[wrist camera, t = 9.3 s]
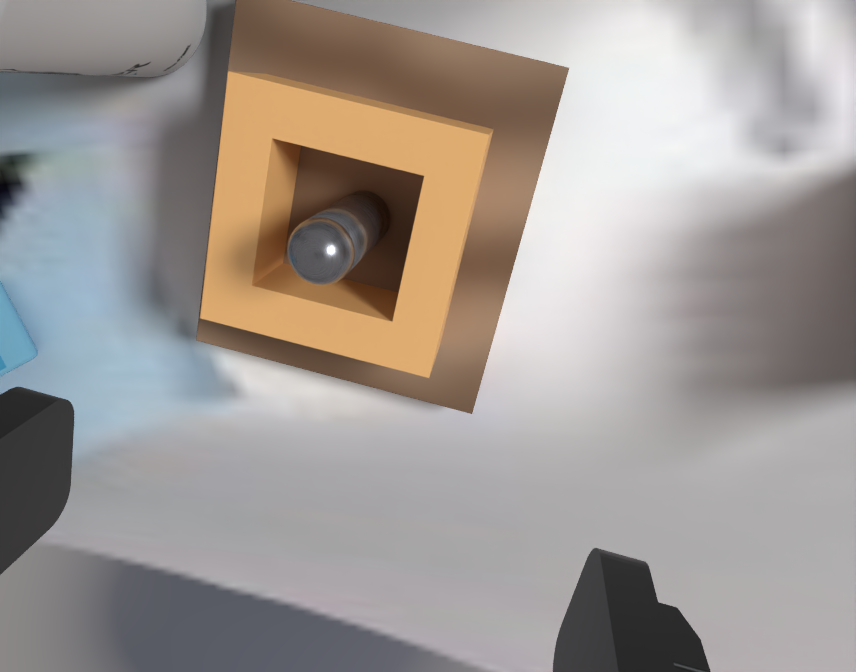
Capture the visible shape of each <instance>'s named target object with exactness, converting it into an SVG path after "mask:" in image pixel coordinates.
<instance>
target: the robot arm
mask: <svg viewBox="0 0 856 672" xmlns="http://www.w3.org/2000/svg"><path fill="white" fill-rule="evenodd" d="M73 430H74V409H73V406H72V404H71V402H69V401H68V400H66V399H62V398H58V397H55V396H51V395H48V394H44V393H40V392H37V391H33V390H30V389H26V388H22V387H15V388H12V389H10V390H8V391H6V392H4V393H3V394H1V395H0V574H2V573H3V572H4V571H5V570H6V569H7V568H8V567H9V566H10V565H11V564H12V563H13V562H14V561H16V560H17V558H19V557H20V556H21V555H22V554H23V553H24V552H25V551H26V550H27V549H28V548H29V547H31V546H32V545H33V544H34V543H35V542H36V541H37V540H38V539H39V538H40V537H41V536H42V535H44V534H45V533H46V532H47V531H48V530H49V529H50V528H51V527H52V526H53V525H54V523H55V522H56V521H57V519H58V518H59V516H60V515H61V513H62V511H63V509H64V507H65V505H66V502H67V499H68V496H69V492H70V486H71V468H72V449H73ZM553 672H710V669H709V665H708V662H707V659H706V656H705V653H704V650H703V646H702V643H701V640H700V638H699V637H698V635H697V634H696V633H695V631H694V630H693V629H692V627H691V626H690V625H689V623H688V622H687V621H686V619H685V618H684V616H683V615H682V614H681V612H680V611H679V610H678V608H676V607H673V606H669V605H666V604H662V603H658V600H657V597H656V593H655V589H654V585H653V581H652V577H651V573H650V569H649V566H648V564H647V563H646V562H644V561H641V560H637V559H634V558H630V557H626V556H623V555H619V554H616V553H612V552H608V551H605V550H601V549H598V548H594V549H593V550H592V551H591V552H590V554H589V556H588V558H587V560H586V563H585V565H584V568H583V571H582V573H581V576H580V578H579V581H578V583H577V586H576V589H575V591H574V594H573V596H572V599H571V602H570V604H569V607H568V609H567V612H566V615H565V617H564V620H563V622H562V625H561V628H560V631H559V634H558V638H557V642H556V647H555V653H554V662H553Z"/></svg>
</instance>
